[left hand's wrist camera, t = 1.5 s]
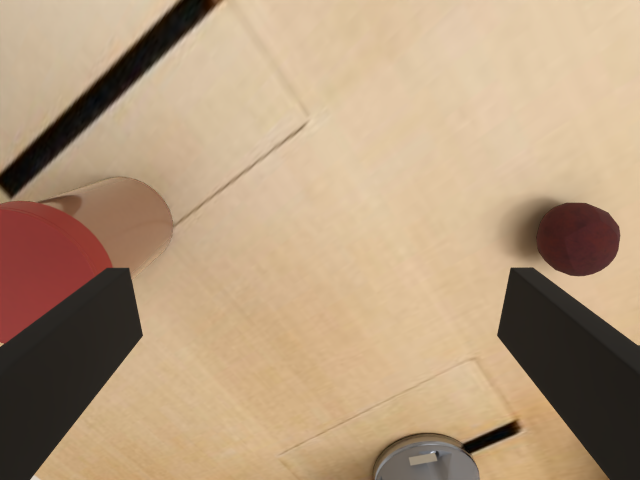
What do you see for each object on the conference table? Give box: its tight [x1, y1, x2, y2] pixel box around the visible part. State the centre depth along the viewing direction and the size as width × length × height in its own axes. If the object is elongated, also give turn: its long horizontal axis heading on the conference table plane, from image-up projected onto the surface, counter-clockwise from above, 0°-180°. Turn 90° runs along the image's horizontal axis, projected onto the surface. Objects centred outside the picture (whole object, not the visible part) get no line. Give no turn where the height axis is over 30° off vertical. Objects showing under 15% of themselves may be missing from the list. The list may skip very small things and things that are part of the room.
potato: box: [537, 203, 620, 276], centre depth 38 cm, size 7×8×7 cm
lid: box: [0, 201, 113, 344], centre depth 27 cm, size 11×11×2 cm
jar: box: [35, 177, 173, 279], centre depth 34 cm, size 10×10×15 cm
